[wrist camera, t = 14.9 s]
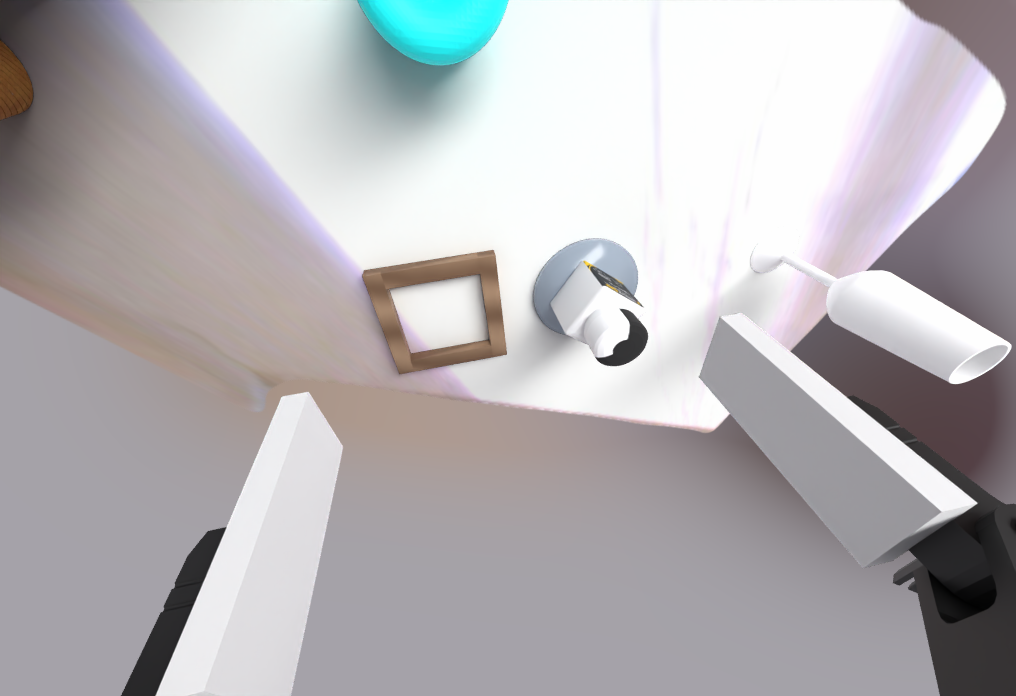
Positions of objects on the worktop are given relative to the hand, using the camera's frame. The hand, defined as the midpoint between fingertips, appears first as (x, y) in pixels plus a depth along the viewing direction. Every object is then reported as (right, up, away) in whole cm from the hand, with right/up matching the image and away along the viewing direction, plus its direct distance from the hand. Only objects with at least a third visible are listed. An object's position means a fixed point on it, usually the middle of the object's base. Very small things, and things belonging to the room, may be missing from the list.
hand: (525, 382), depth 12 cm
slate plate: (+10, +9, +36) cm, 39 cm away
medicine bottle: (+10, +9, +36) cm, 38 cm away
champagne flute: (+36, +15, +38) cm, 54 cm away
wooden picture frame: (-9, +6, +35) cm, 36 cm away
